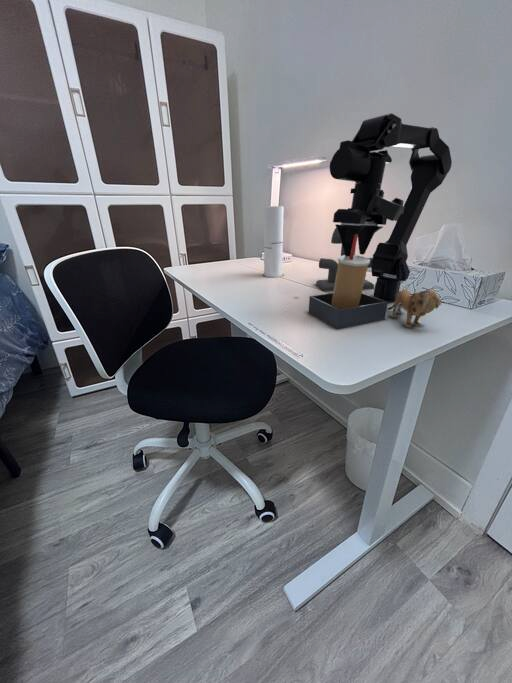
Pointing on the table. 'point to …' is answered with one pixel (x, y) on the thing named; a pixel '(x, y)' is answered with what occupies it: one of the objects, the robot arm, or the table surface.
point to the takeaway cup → (349, 279)
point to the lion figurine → (415, 304)
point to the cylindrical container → (273, 240)
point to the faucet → (332, 266)
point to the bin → (347, 310)
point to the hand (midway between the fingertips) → (355, 255)
